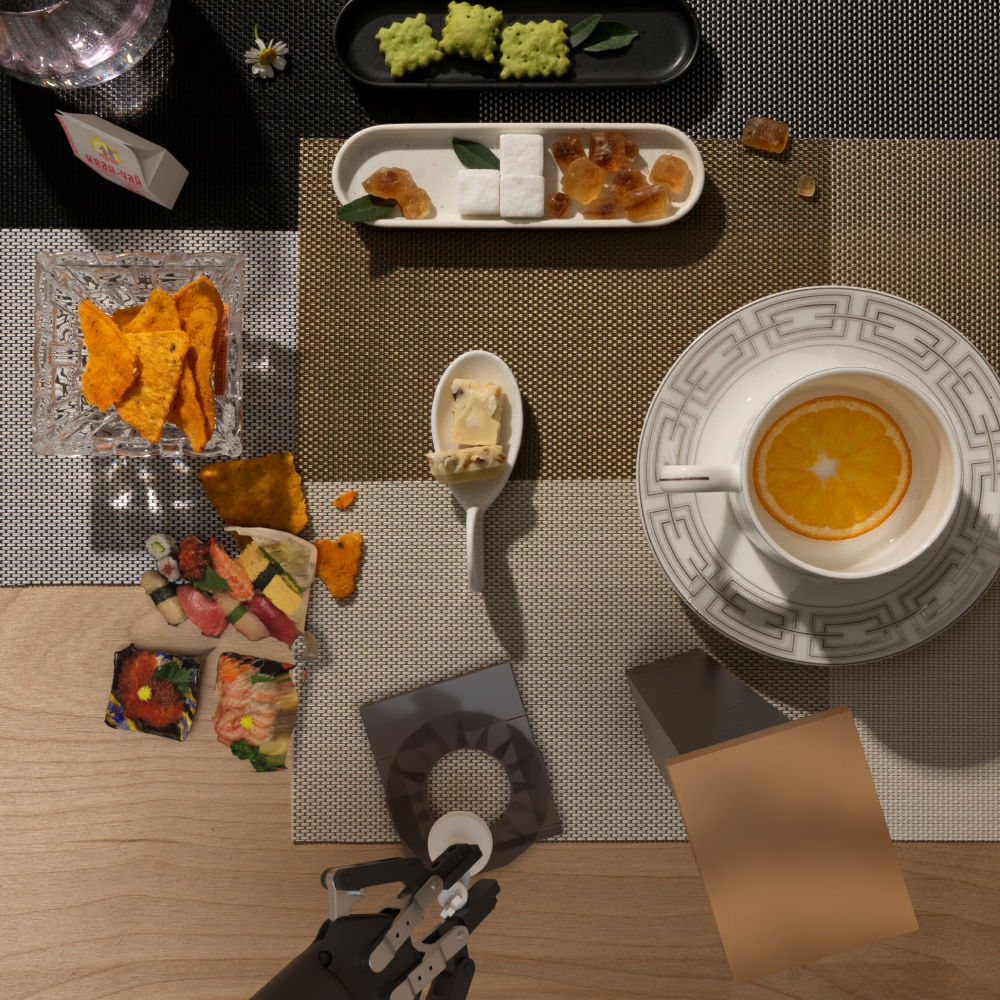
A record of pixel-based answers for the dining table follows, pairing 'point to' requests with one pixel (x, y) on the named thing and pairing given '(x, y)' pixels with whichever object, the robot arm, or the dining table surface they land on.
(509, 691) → the board
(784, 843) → the tan rectangular panel
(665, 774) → the pillar
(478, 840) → the chess piece
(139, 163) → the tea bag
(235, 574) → the food
